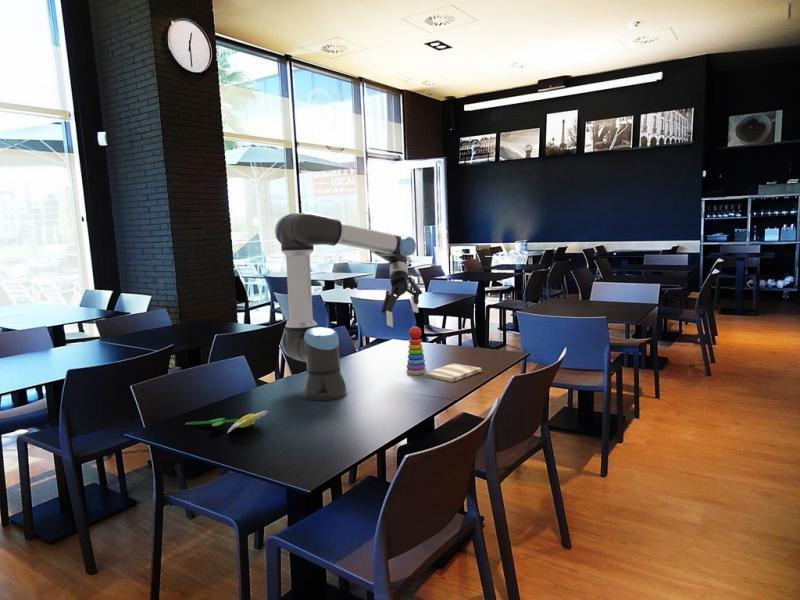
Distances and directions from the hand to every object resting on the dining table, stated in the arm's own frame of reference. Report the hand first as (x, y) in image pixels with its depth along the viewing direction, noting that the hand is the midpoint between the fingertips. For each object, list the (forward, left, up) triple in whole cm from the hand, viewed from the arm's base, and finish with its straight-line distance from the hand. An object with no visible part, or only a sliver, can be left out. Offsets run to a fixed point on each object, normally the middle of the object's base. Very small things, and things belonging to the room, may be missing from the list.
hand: (402, 318), depth 215 cm
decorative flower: (-75, +3, -23) cm, 79 cm away
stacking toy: (+5, -1, -23) cm, 23 cm away
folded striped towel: (+12, -14, -23) cm, 29 cm away
